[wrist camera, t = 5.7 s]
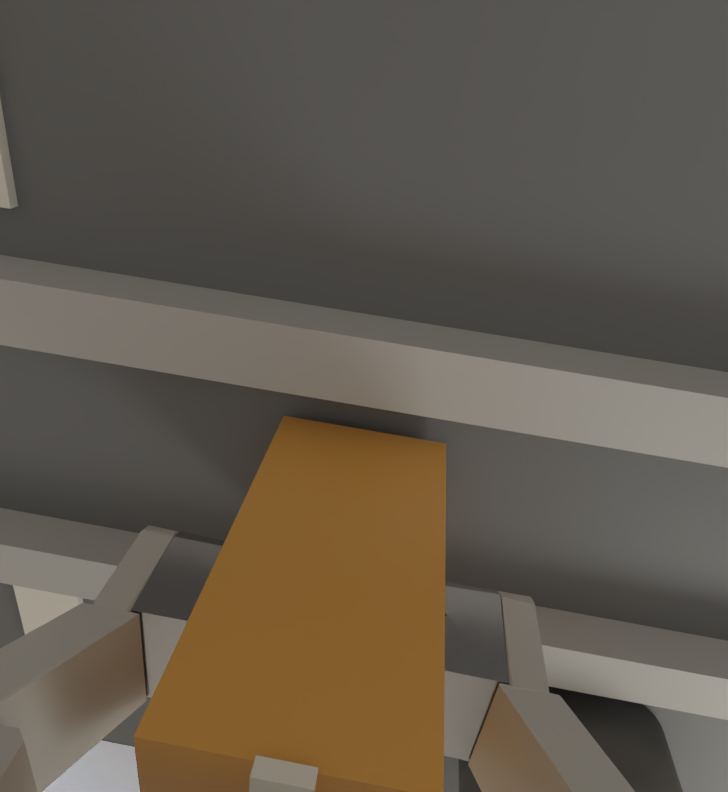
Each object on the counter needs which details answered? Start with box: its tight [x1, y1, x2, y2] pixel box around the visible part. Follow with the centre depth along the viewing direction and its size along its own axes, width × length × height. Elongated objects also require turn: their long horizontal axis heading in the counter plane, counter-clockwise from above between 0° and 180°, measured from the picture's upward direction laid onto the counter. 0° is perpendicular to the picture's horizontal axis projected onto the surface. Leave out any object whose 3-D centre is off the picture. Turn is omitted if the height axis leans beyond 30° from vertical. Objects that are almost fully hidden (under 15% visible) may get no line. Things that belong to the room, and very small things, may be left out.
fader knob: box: [134, 416, 446, 792], centre depth 9 cm, size 3×3×6 cm
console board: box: [0, 0, 728, 792], centre depth 12 cm, size 22×28×4 cm
